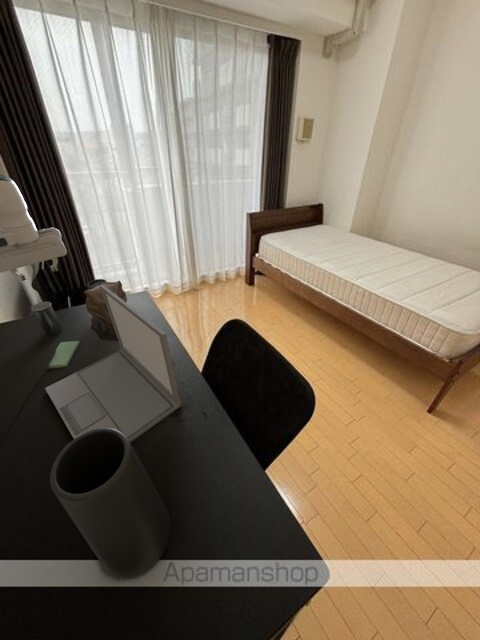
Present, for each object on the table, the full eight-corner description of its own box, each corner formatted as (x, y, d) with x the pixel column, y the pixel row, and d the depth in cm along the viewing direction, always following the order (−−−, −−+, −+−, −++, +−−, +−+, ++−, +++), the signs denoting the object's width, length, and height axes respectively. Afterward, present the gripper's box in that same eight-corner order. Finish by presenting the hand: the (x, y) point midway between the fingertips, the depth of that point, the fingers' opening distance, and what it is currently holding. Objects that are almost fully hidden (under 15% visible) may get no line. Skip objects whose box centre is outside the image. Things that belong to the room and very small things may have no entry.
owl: (94, 340, 108) (76, 295, 96) (110, 321, 118) (95, 277, 106) (126, 342, 107) (111, 296, 95) (139, 322, 117) (127, 279, 105)
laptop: (46, 391, 88) (2, 319, 72) (125, 350, 103) (103, 284, 87) (92, 470, 68) (45, 396, 52) (182, 405, 83) (166, 332, 67)
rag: (45, 368, 96) (44, 366, 95) (61, 343, 106) (60, 342, 106) (66, 367, 96) (65, 365, 96) (80, 342, 107) (79, 340, 106)
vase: (183, 514, 60) (159, 436, 43) (141, 595, 50) (88, 534, 33) (133, 487, 65) (93, 407, 48) (84, 556, 54) (12, 486, 38)
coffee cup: (92, 318, 120) (80, 287, 111) (104, 307, 126) (94, 277, 118) (110, 320, 118) (99, 289, 109) (121, 310, 125) (112, 279, 116)
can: (41, 336, 110) (27, 311, 103) (49, 327, 115) (36, 302, 108) (59, 335, 110) (46, 310, 103) (65, 325, 116) (53, 300, 109)
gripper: (54, 224, 93) (69, 263, 101) (-23, 239, 82) (1, 282, 90) (61, 228, 90) (76, 268, 98) (-19, 245, 78) (6, 289, 86)
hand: (39, 275), depth 94 cm, fingers open, 8 cm apart
